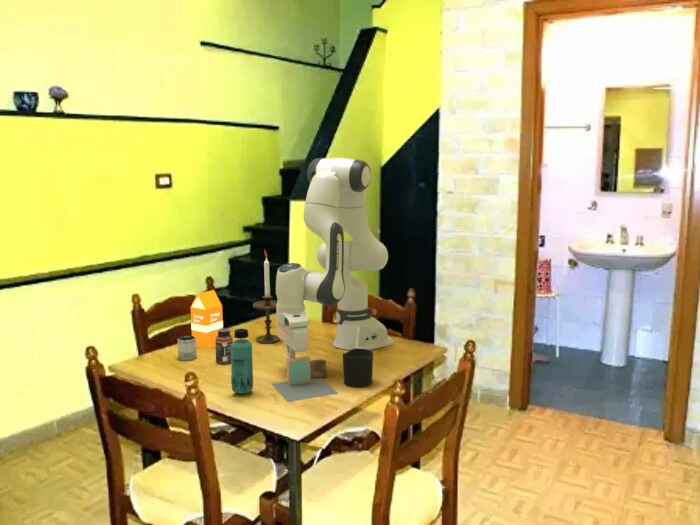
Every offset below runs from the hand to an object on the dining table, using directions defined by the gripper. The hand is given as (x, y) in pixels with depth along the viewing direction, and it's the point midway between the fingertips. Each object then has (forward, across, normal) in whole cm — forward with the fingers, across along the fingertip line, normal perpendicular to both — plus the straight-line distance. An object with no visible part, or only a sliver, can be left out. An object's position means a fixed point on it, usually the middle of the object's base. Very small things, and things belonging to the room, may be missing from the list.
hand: (291, 357), depth 212 cm
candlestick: (+7, -42, +5) cm, 43 cm away
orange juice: (+7, -47, -17) cm, 51 cm away
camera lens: (+7, -33, -27) cm, 43 cm away
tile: (+6, +7, 0) cm, 9 cm away
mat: (+7, +12, 0) cm, 13 cm away
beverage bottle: (+7, +8, -18) cm, 21 cm away
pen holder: (+7, +14, +17) cm, 23 cm away
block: (+6, +3, +8) cm, 11 cm away
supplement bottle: (+7, -24, -16) cm, 30 cm away
